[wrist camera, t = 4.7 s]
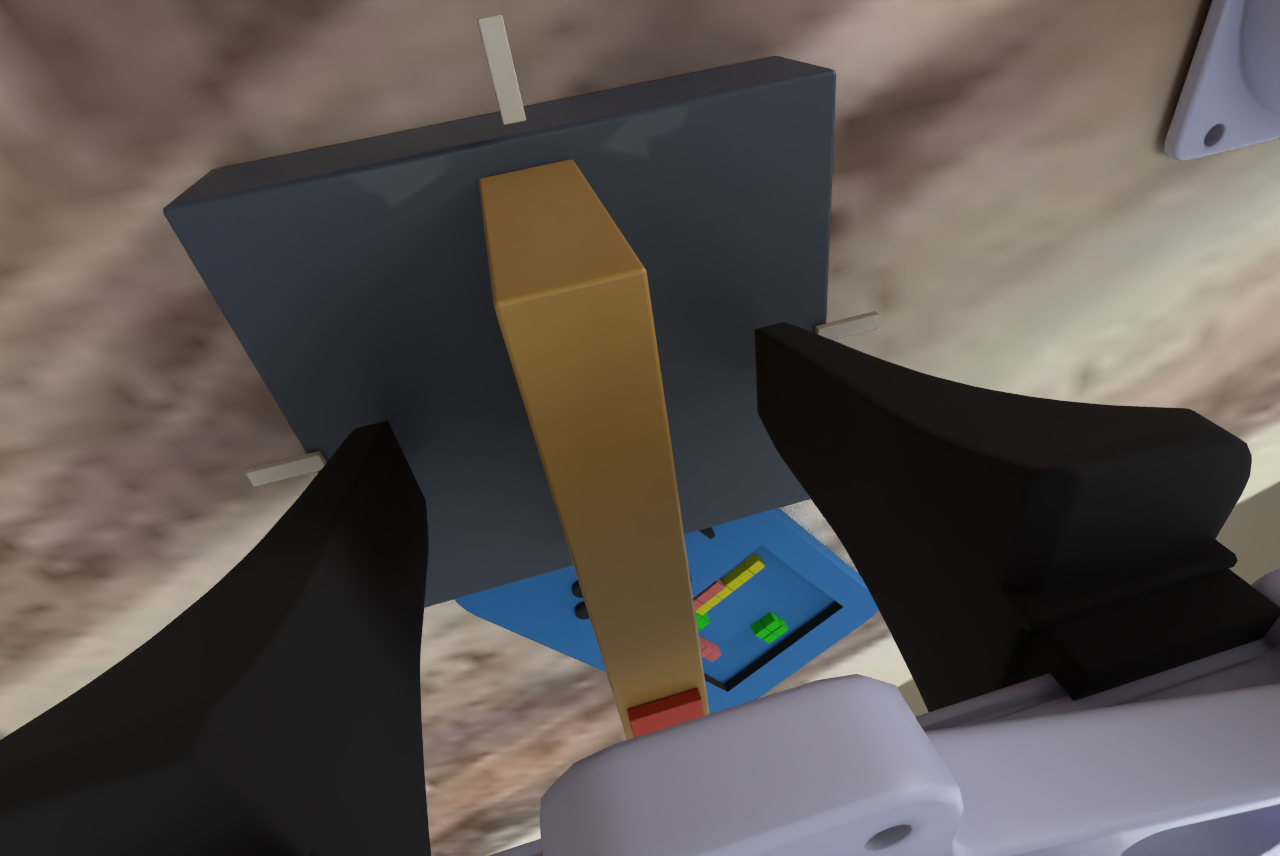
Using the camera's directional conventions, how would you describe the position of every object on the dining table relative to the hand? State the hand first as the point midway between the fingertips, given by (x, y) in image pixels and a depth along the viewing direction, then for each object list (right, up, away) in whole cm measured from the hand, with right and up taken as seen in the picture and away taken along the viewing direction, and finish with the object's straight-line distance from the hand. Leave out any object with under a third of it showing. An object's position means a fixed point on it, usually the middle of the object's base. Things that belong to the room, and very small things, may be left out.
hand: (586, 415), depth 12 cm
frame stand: (-1, +2, +3) cm, 3 cm away
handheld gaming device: (+2, -5, +9) cm, 11 cm away
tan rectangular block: (0, 0, +1) cm, 1 cm away
